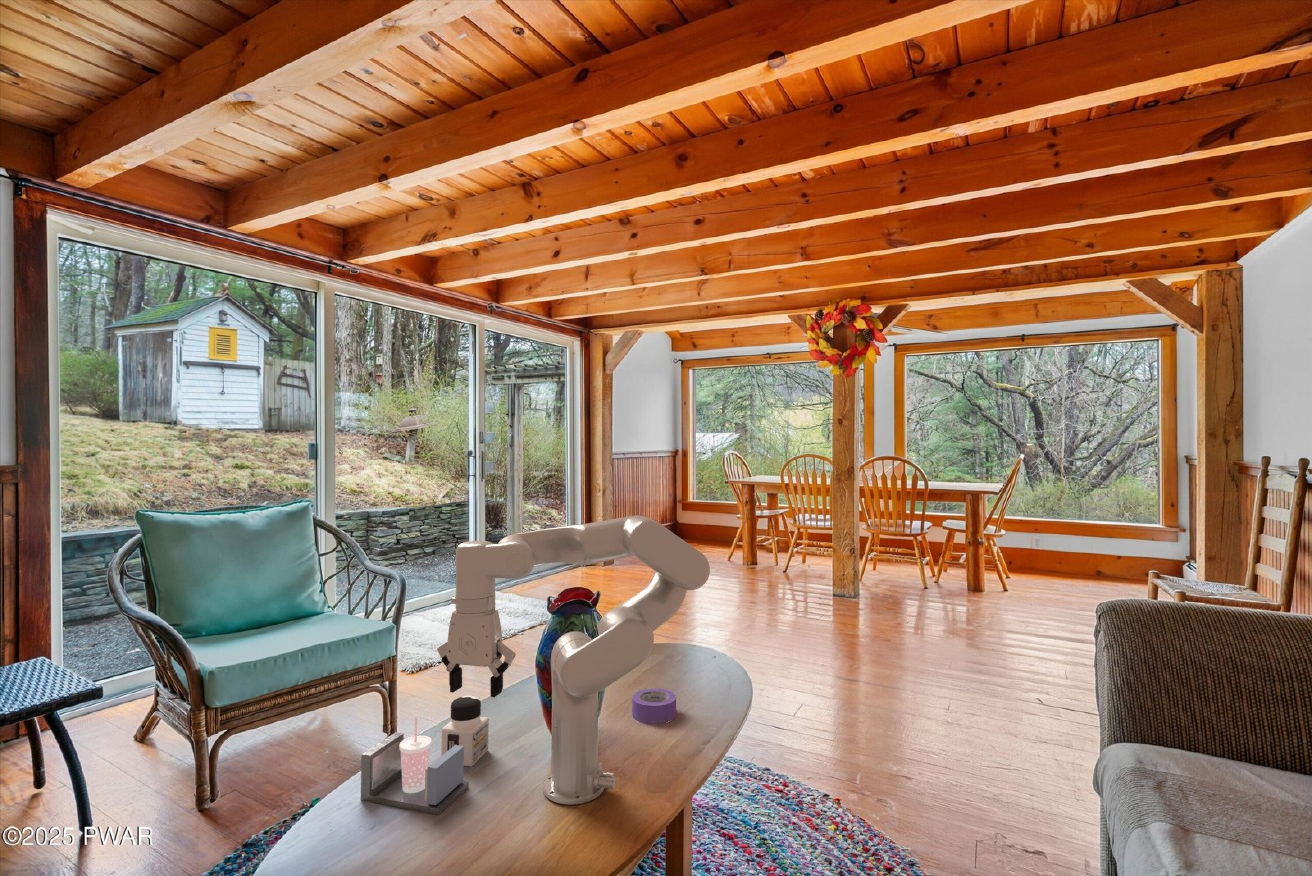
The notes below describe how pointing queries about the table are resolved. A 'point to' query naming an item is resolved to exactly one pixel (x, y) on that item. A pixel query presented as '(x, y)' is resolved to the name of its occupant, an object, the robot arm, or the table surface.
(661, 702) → the tape roll
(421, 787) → the beverage cup
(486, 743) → the container
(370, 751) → the vise base
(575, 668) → the robot arm
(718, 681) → the table surface
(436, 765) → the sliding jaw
